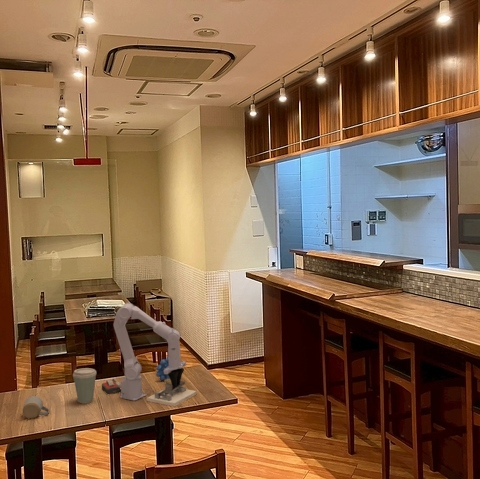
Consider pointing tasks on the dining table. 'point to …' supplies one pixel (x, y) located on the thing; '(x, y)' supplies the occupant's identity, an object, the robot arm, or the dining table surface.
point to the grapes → (162, 369)
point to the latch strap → (171, 389)
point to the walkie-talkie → (111, 387)
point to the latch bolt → (167, 381)
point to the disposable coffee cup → (84, 384)
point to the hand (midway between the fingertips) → (176, 384)
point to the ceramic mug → (34, 407)
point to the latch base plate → (172, 396)
